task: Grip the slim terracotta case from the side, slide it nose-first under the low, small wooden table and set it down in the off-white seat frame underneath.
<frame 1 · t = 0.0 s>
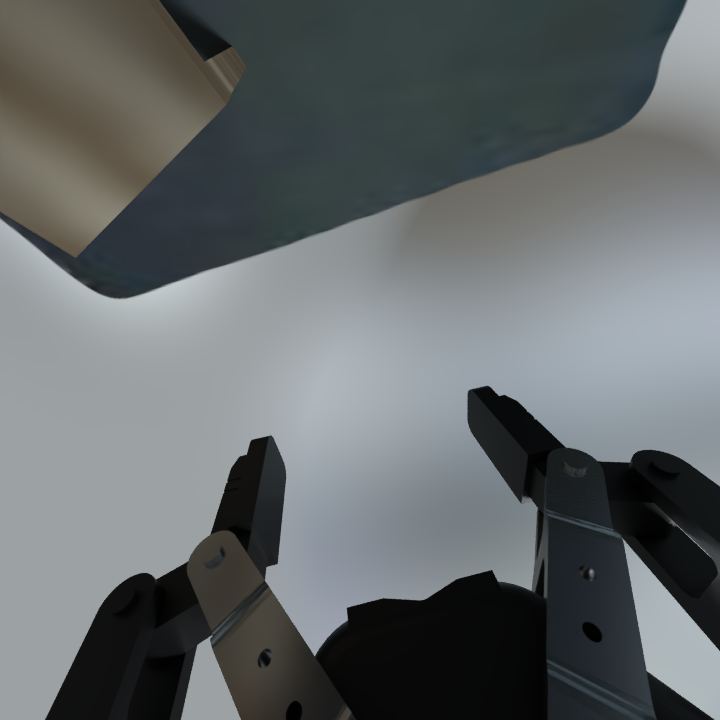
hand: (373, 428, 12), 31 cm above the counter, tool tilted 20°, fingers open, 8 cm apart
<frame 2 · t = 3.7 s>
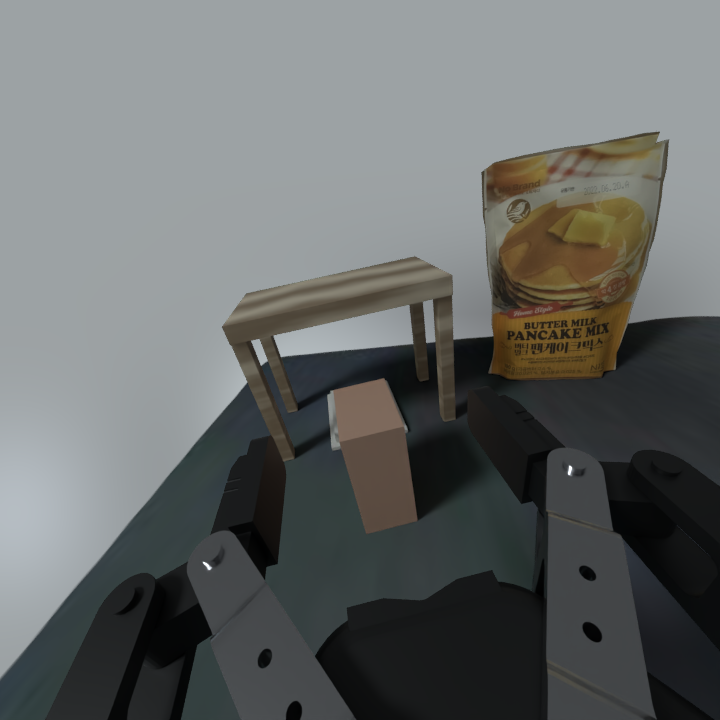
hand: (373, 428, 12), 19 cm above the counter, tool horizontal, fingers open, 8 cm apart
pancake mix bag: (545, 369, 44), on the counter
seat: (363, 412, 43), on the counter
slim case: (384, 495, 31), on the counter
small wooden table: (363, 412, 43), on the counter
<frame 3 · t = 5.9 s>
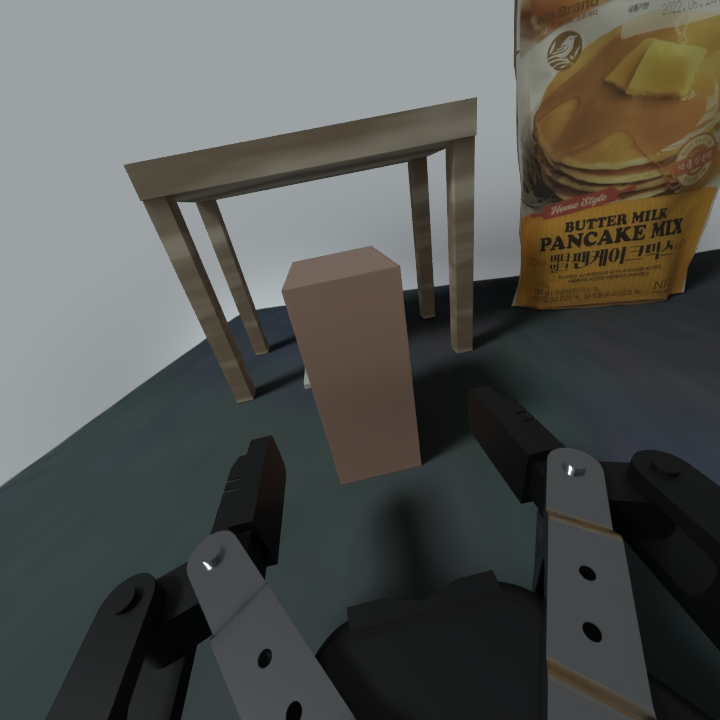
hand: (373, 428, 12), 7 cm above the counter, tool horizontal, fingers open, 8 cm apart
pancake mix bag: (586, 299, 34), on the counter
slim case: (371, 435, 21), on the counter
small wooden table: (350, 350, 33), on the counter
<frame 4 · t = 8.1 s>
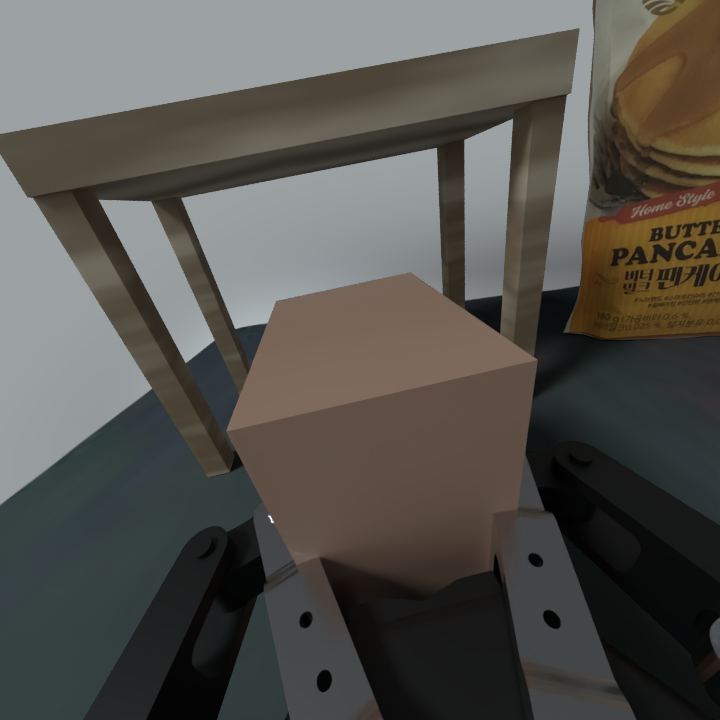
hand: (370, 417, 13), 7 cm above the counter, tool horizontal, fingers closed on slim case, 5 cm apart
pancake mix bag: (661, 325, 27), on the counter
slim case: (403, 563, 13), on the counter, touching gripper
small wooden table: (360, 392, 26), on the counter
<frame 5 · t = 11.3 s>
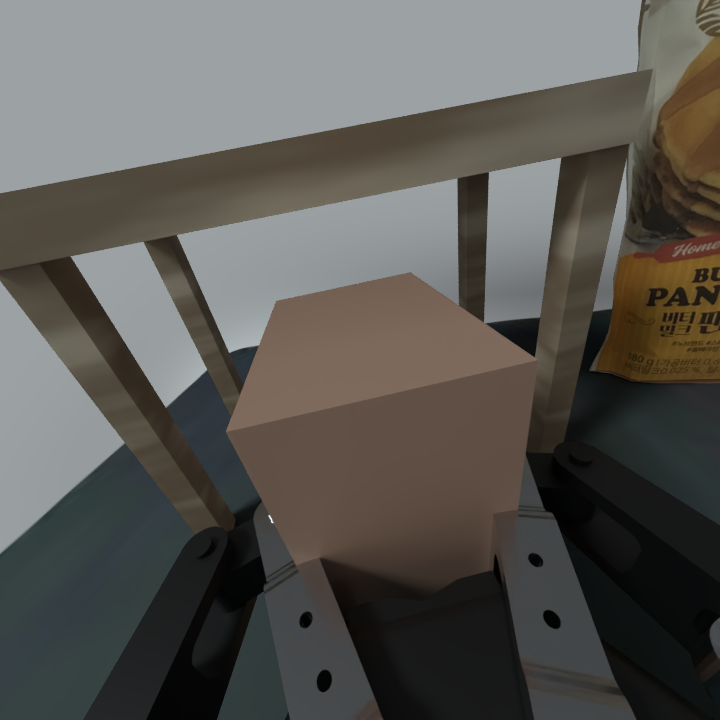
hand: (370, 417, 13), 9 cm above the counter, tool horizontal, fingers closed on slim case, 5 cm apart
pancake mix bag: (696, 365, 25), on the counter
slim case: (403, 563, 13), point 2 cm above the counter, touching gripper
small wooden table: (371, 440, 24), on the counter
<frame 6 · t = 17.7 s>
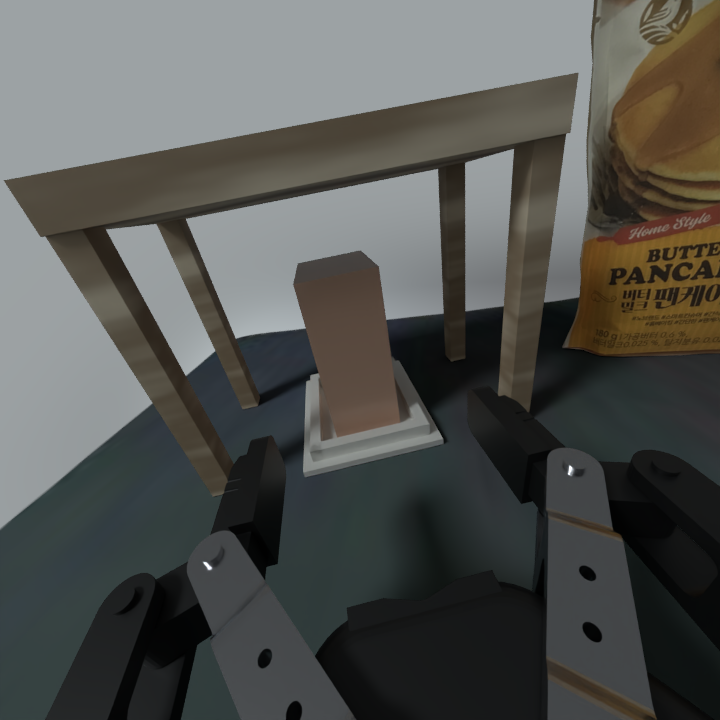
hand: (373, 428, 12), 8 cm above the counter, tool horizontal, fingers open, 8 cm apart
pancake mix bag: (658, 341, 27), on the counter
seat: (362, 408, 26), on the counter
slim case: (362, 404, 26), resting on seat
small wooden table: (362, 408, 26), on the counter
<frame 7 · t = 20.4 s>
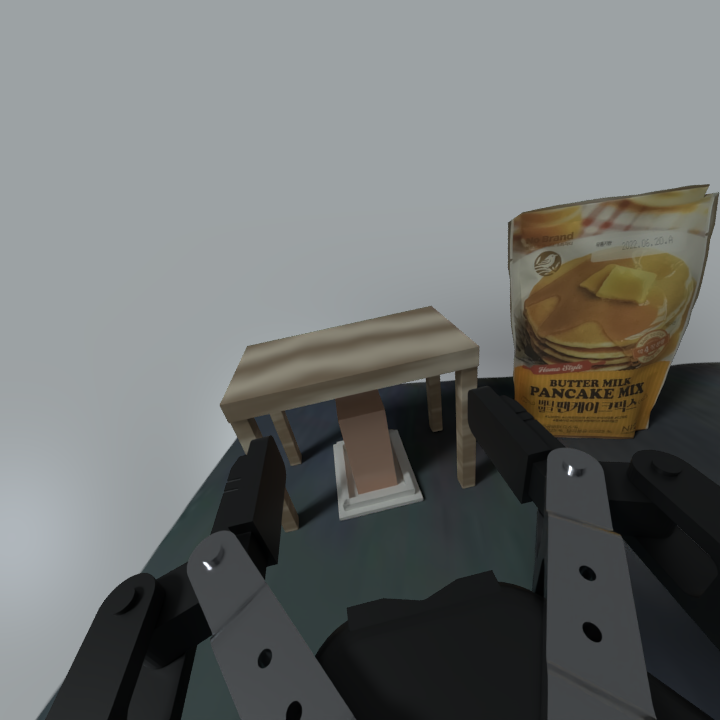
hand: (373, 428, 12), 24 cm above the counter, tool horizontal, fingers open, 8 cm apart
pancake mix bag: (569, 423, 41), on the counter
seat: (372, 470, 40), on the counter
slim case: (372, 467, 40), resting on seat
small wooden table: (372, 470, 40), on the counter
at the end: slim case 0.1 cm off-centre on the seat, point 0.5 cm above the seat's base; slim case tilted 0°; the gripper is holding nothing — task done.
